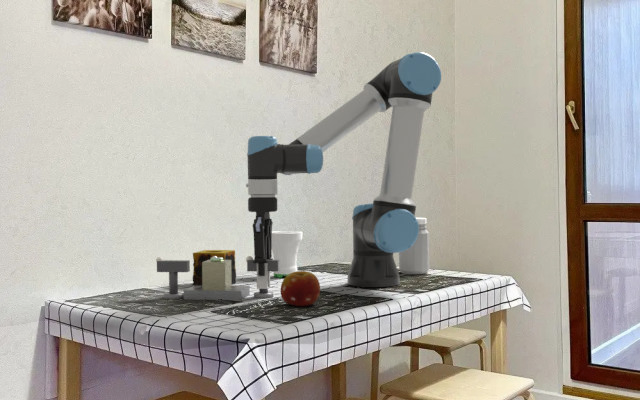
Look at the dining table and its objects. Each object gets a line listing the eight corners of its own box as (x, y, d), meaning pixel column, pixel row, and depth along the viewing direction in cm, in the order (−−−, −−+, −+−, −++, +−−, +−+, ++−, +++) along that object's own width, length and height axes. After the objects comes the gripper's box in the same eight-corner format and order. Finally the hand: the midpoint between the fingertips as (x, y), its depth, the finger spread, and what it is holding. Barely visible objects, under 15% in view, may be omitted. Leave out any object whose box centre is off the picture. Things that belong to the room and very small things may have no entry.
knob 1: (191, 296, 176) (191, 256, 176) (185, 299, 171) (185, 257, 171) (160, 295, 177) (159, 255, 177) (153, 298, 172) (152, 257, 172)
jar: (408, 270, 229) (407, 217, 228) (434, 272, 223) (433, 217, 223) (393, 273, 221) (393, 218, 220) (420, 275, 215) (420, 219, 215)
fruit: (288, 310, 156) (288, 275, 156) (275, 304, 164) (274, 271, 164) (326, 306, 160) (326, 272, 160) (311, 301, 168) (311, 268, 168)
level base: (249, 294, 178) (249, 254, 178) (241, 300, 169) (241, 257, 169) (194, 294, 180) (194, 254, 180) (183, 299, 171) (183, 257, 171)
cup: (309, 275, 217) (309, 231, 216) (289, 279, 207) (289, 233, 207) (281, 273, 223) (280, 230, 222) (260, 277, 213) (260, 232, 213)
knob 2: (280, 295, 176) (280, 255, 176) (277, 298, 171) (276, 257, 171) (248, 295, 177) (248, 255, 177) (244, 298, 172) (243, 257, 172)
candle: (225, 288, 192) (225, 253, 191) (191, 287, 194) (191, 252, 193) (237, 283, 202) (236, 249, 201) (205, 282, 204) (204, 249, 203)
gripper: (255, 196, 182) (255, 283, 182) (241, 196, 167) (242, 292, 167) (282, 195, 181) (283, 283, 181) (271, 196, 166) (272, 292, 166)
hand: (263, 287), depth 174 cm, fingers closed on knob 2, 2 cm apart
